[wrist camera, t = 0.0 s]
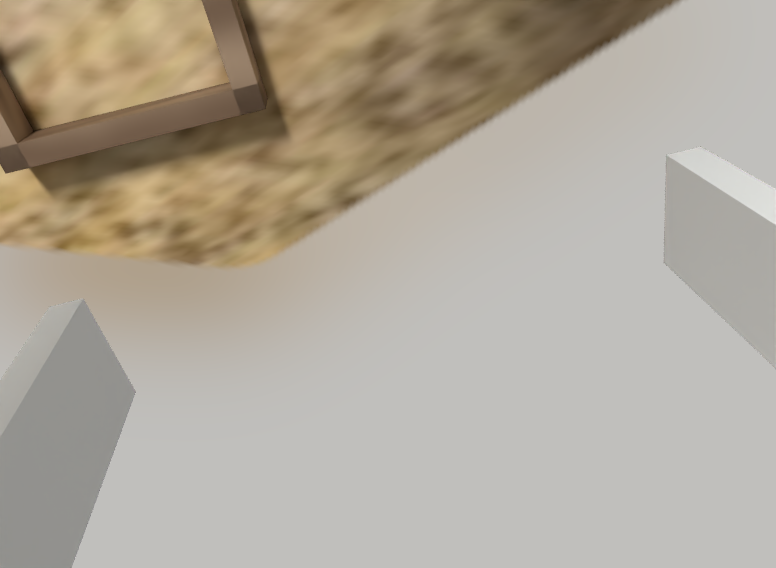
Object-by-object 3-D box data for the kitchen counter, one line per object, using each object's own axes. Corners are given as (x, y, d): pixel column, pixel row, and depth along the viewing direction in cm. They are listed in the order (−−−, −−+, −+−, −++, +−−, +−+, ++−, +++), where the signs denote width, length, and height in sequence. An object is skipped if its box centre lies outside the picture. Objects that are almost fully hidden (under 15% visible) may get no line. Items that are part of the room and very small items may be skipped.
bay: (-103, -67, 32) (-132, -67, 30) (192, -142, 32) (183, -147, 30) (22, 159, 39) (5, 173, 37) (267, 98, 39) (265, 108, 37)
